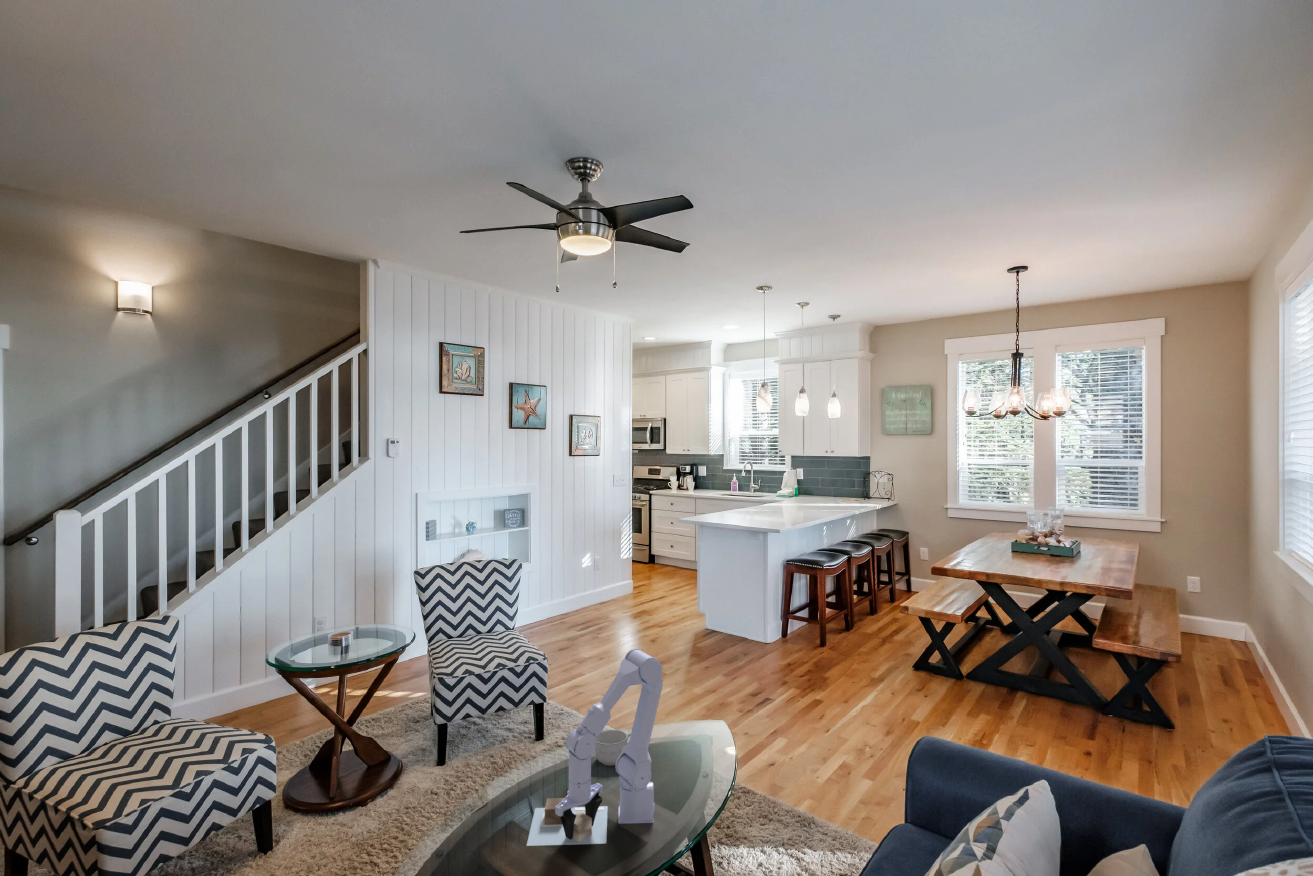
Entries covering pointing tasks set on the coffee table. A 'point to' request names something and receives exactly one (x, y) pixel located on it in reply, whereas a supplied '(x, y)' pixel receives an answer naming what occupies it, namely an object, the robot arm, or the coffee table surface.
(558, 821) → the walnut base
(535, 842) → the board
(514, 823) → the coffee table surface
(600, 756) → the teacup
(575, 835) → the maple block
